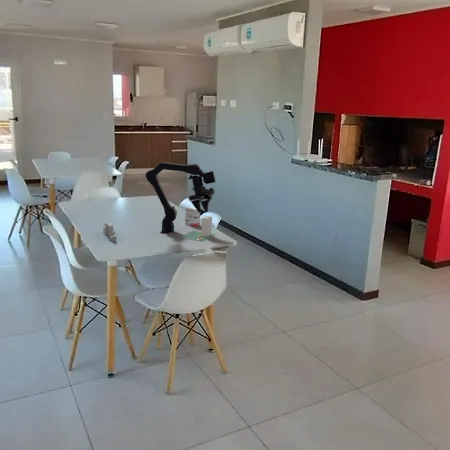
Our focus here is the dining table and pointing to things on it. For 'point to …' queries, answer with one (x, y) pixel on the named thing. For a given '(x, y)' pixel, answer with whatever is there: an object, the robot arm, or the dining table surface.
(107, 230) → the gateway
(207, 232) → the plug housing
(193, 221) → the ink box
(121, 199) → the dining table surface
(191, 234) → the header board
